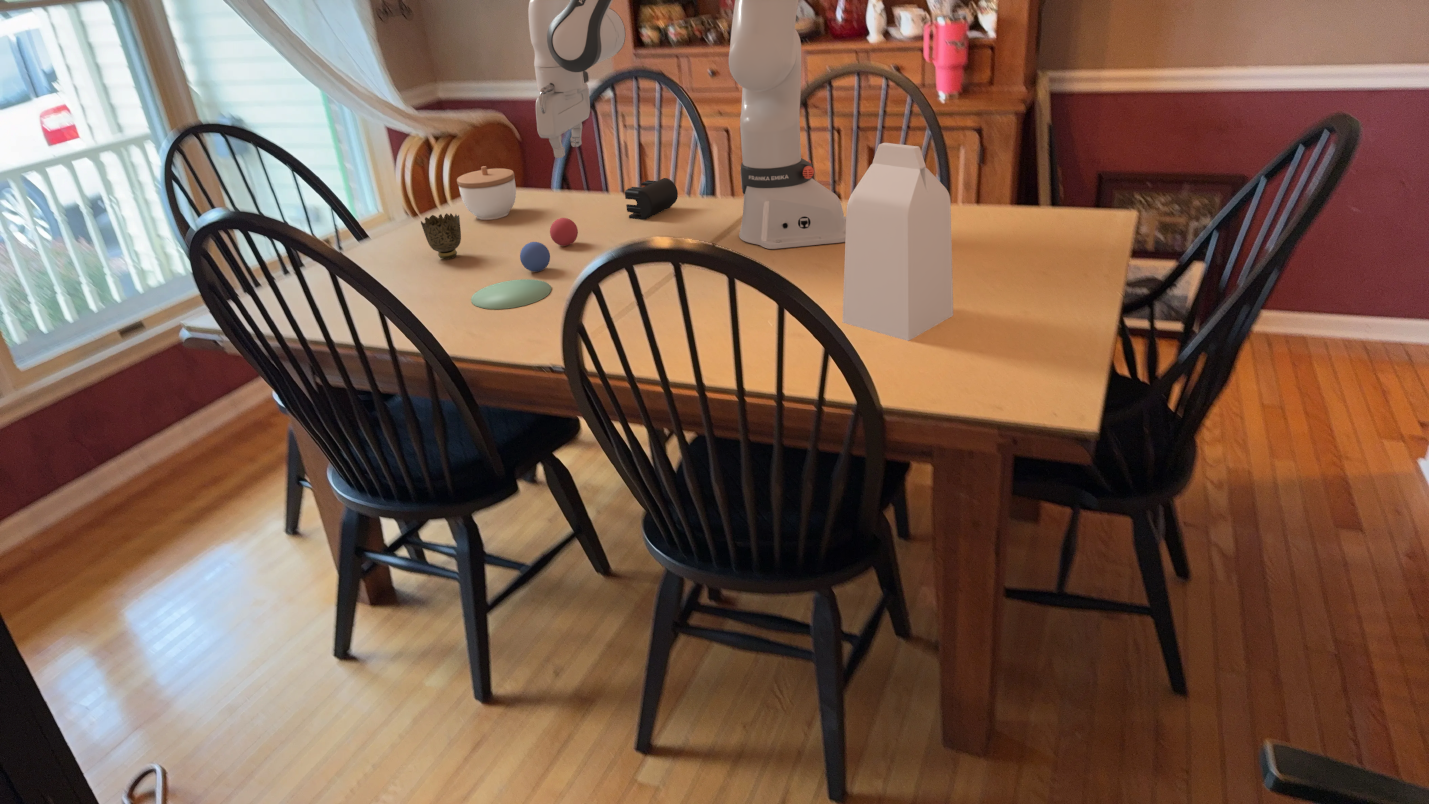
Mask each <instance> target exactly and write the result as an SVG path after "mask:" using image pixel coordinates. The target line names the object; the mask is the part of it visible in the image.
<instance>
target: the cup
mask: <svg viewBox="0 0 1429 804" xmlns="http://www.w3.org/2000/svg"><path fill="white" fill-rule="evenodd" d="M460 220H461V219H460V214H458V215H457V213H455V214H454V215H453V214H452V213H445V214H444V216H443V215H442V213H440V214H439V215H438V216H436V215H434V214H431V215H430V216H429V217H428V216H426V217H424V222H423V221H422V220H420V224H421V227H422V229H423V234H424V236H425V238H426V239H425V240H427V243H428V245H429V246H430V248H431V249H432V250H433V251H435V252H438V253H437V255H438V258H439V259H441V260H450V259H453V258H456V256H457V253H458V250H457V248H458V247H459V246H460V244H461V241H462V234H461V233H462V232H461V231H462V230H461V221H460Z"/></svg>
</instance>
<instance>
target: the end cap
mask: <svg viewBox="0 0 1429 804" xmlns="http://www.w3.org/2000/svg"><path fill="white" fill-rule="evenodd" d="M640 185H641V187H639V186H631V187H630V188H629V187H628V188H627V189H626V190H624V197H625V200H633V201H635V202H636V204H626V212H627V213H631V214H629V215H628V218H629V219H631V220H641V221H644V220H647V219H650V218H651V217H654V216H656V215H658V214H660V213H662V212H664V211H666V210H668V209H670V208H672V206H673V205H674V204H675V203H676V202H677V201H678V200H677V199H678V197H679V191H678V188H677V185H676V184H675V183H674V182H673V181H672V180H671V179H670V178H668V177H663V178H661V179H659V180H649V179H647V180H645V181H643V182H641V183H640Z"/></svg>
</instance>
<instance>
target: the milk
mask: <svg viewBox="0 0 1429 804" xmlns="http://www.w3.org/2000/svg"><path fill="white" fill-rule="evenodd" d="M873 157H874V158H873V160H872V163H871V164H870V165H869V167H868V168H867V170H866V172H865V173H864V175H863V176H862V178H861V179H860V181H859V182H858V184H857V185H856V186H855V187H854V190H853V191H852V193H851V194H850V196H849V199H848V200H847V204H846V216H845V217H846V239H845V242H844V243H845V244H844V248H845V249H844V266H843V268H844V271H843V272H844V273H843V295H842V323H843V324H846V325H851V326H853V327H856V328H860V329H863V330H867V331H871V332H875V333H878V334H882V335H885V336H889V337H891V338H892V337H893V338H896V339H900V340H903V341H907V342H909V341H911V340H913V339H915V338H917V337H918V336H920V335H923V333H925V332H926V331H928V330H931V329H932V328H934V327H935V326H937V325H939V324H941V323H942V322H944V321H946V320H948V319H950V318H951V317H953V316H954V297H953V295H954V293H953V291H954V289H953V286H954V285H953V284H954V283H953V252H952V251H953V248H952V247H953V245H952V241H953V240H952V213H951V211H952V209H951V207H952V205H951V195H950V193H949V191H948V190H947V187H945V186H944V184H942V182H941V181H940V180H939V179H938V178H937V177H936V176H935V175H934V173H932V172H931V170H929V168H927V167H926V163H925V159H924V157H923V153H922V150H921V148H920V146H917V145H915V146H914V145H909V144H902V143H901V144H900V143H892V142H891V143H890V142H883V143H880V144H878V146H877V149H876V151H875V154H874V156H873Z"/></svg>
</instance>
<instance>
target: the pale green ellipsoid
mask: <svg viewBox="0 0 1429 804" xmlns="http://www.w3.org/2000/svg"><path fill="white" fill-rule="evenodd" d="M551 292H552V286H551V285H550V284H549V283H548V282H547V281H544V280H539V279H529V278H525V279H523V278H522V279H512V280H507V281H501V282H497V283H494V284H493V283H492V284H489V285H487V286H485V287H483V288H481V289H479V290H477V291H475V293H473V294H472V296H471V299H470V300H471V304H472V305H473V306H475V307H477V308H480V309H485V310H486V309H487V310H506V309H507V310H508V309H514V308H519V307H524V306H528V305H531V304H534V303H536V302H539V301H541V300H543V299H544V298H546V297H547V296H549V295H550V294H551Z"/></svg>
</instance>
